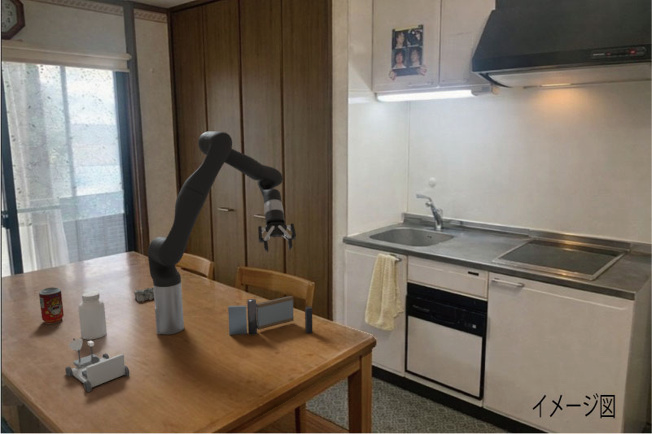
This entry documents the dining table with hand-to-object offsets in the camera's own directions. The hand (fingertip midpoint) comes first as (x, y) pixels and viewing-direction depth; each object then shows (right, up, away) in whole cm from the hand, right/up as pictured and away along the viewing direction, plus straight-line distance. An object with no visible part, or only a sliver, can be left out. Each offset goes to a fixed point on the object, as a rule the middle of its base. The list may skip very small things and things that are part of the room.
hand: (278, 249), depth 179 cm
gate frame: (-1, -28, -15) cm, 32 cm away
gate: (0, -26, -10) cm, 28 cm away
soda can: (-84, -26, -3) cm, 88 cm away
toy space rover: (-49, -34, -41) cm, 73 cm away
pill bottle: (-62, -29, -16) cm, 70 cm away
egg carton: (-57, -22, +22) cm, 65 cm away
